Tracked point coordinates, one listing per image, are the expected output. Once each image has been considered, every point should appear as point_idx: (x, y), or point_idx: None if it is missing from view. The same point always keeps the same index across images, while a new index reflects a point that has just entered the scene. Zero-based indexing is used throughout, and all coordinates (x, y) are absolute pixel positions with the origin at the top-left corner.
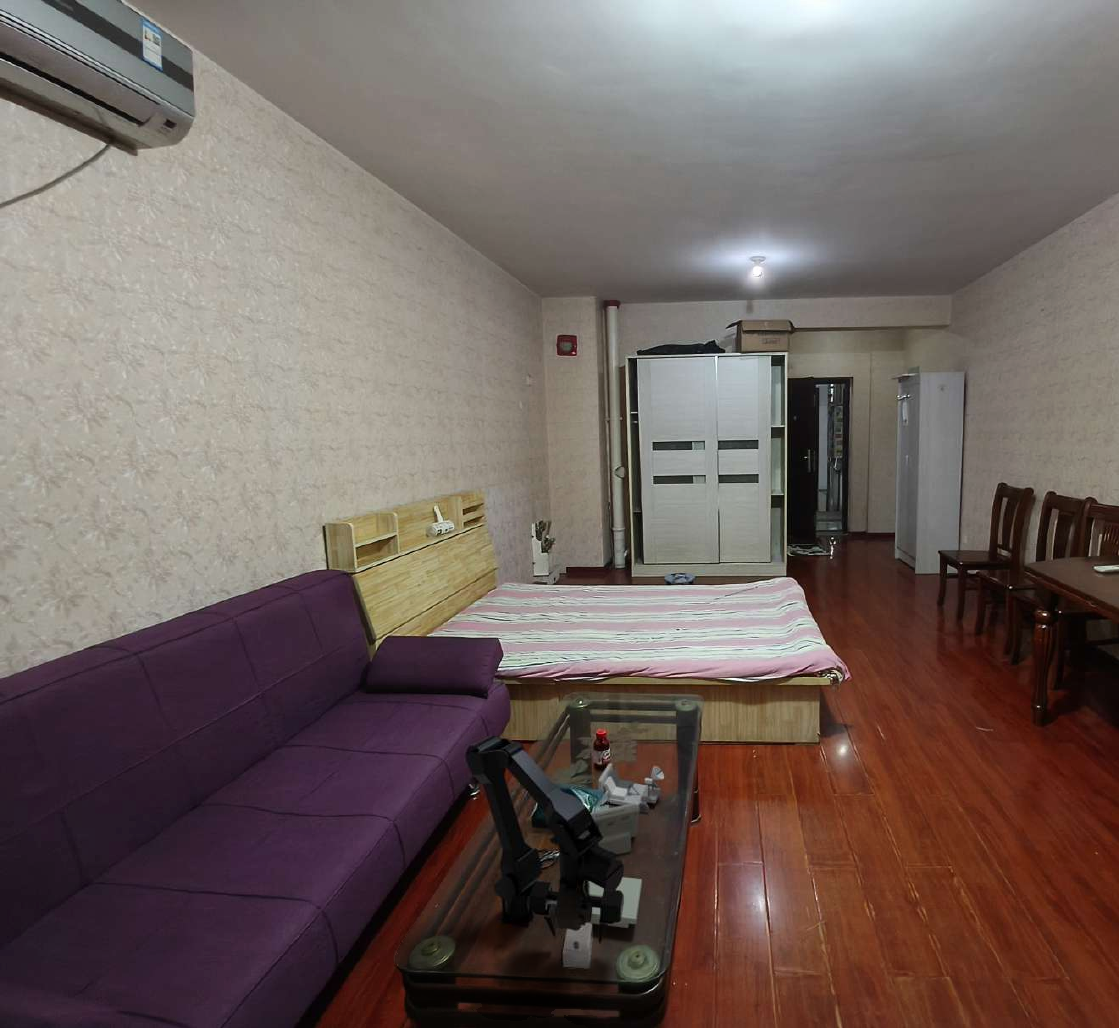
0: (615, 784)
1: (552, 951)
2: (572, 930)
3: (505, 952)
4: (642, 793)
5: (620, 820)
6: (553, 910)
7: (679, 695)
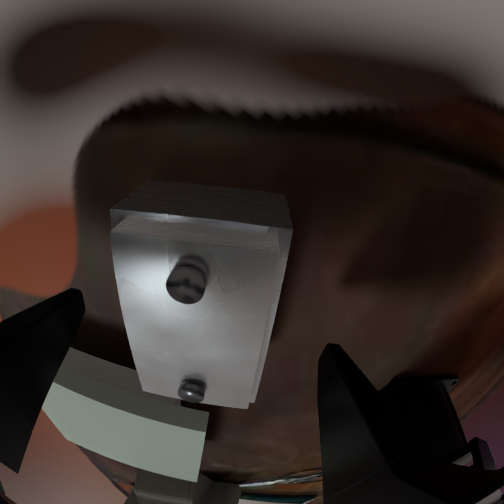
0: None
1: (334, 289)
2: (225, 374)
3: (487, 285)
4: None
5: None
6: (346, 491)
7: None
